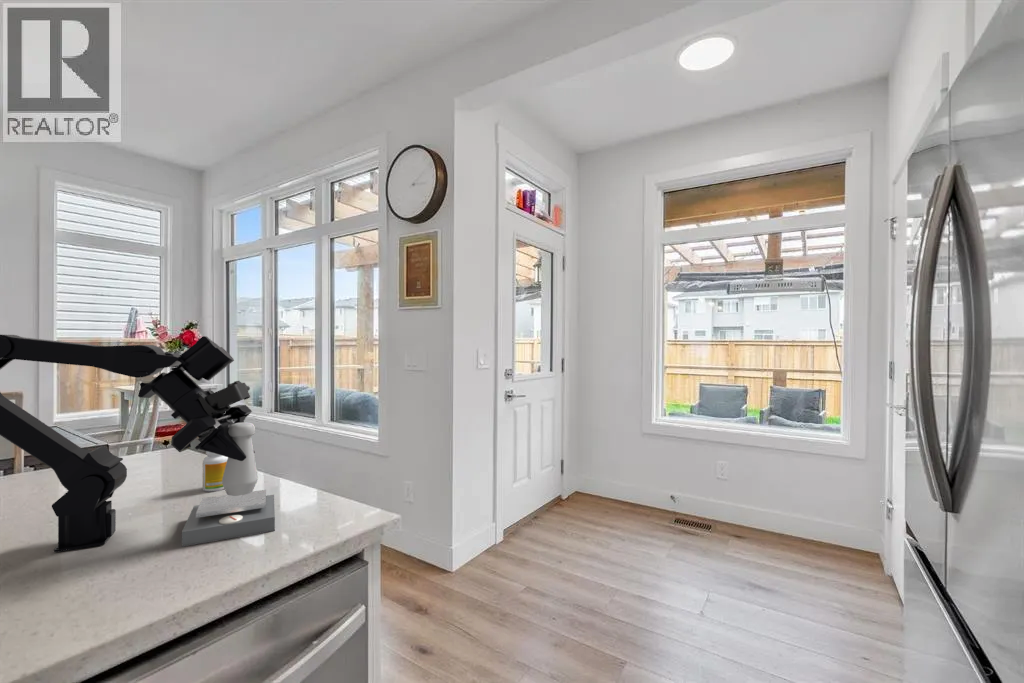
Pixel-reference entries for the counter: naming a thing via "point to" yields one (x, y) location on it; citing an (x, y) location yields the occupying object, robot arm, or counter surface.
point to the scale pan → (231, 503)
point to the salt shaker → (241, 462)
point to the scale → (228, 524)
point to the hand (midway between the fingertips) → (248, 457)
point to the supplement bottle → (213, 471)
